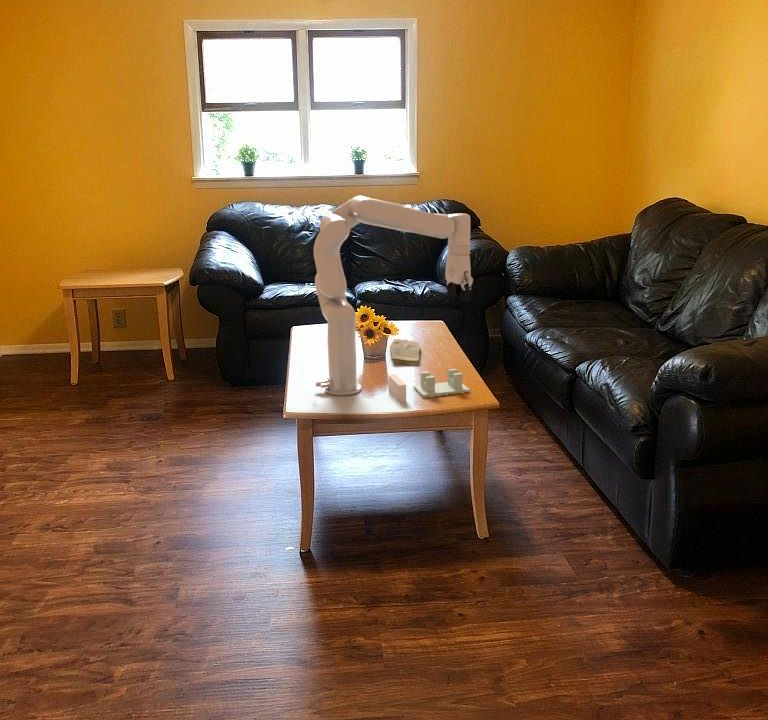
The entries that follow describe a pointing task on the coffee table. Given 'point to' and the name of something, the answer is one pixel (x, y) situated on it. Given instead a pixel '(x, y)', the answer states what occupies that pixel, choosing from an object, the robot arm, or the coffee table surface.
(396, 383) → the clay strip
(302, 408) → the coffee table surface
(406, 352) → the stone slab
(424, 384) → the grey mounting plate
